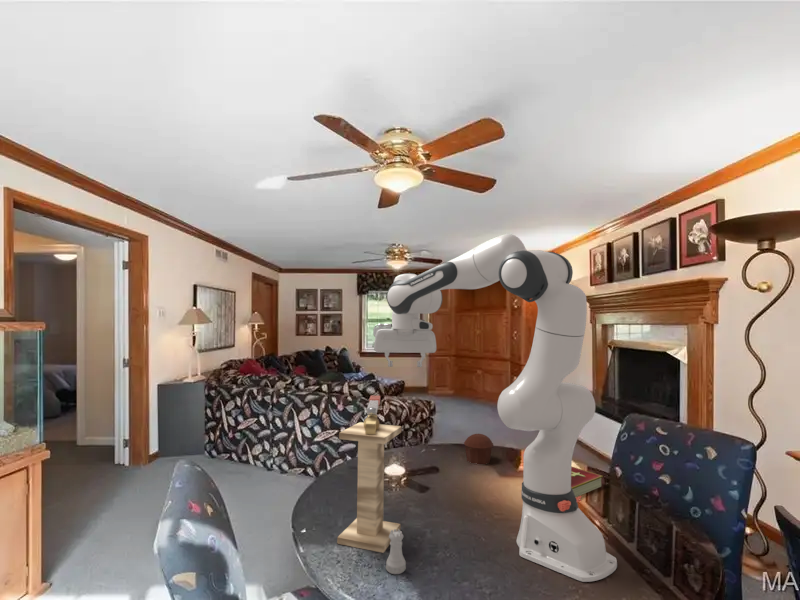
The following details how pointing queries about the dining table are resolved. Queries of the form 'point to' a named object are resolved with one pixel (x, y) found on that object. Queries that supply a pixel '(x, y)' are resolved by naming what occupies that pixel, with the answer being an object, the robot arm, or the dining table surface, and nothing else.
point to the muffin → (478, 448)
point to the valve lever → (373, 405)
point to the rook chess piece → (396, 554)
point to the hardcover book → (584, 481)
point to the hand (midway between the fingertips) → (404, 366)
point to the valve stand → (369, 486)
